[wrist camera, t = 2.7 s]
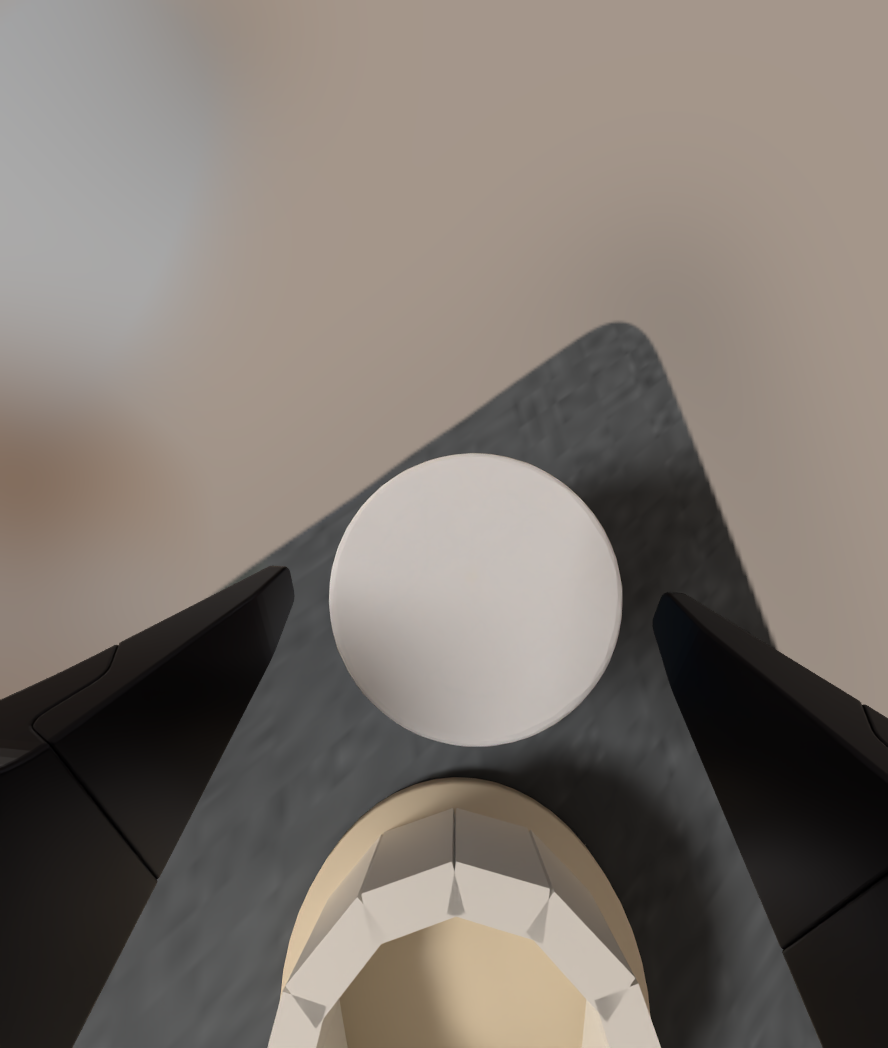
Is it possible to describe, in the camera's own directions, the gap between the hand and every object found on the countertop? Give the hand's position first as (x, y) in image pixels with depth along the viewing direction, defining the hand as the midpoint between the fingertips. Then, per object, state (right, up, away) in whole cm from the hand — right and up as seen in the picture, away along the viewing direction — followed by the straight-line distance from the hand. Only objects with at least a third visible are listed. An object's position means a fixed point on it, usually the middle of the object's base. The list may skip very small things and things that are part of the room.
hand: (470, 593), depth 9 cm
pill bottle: (0, -2, +8) cm, 8 cm away
